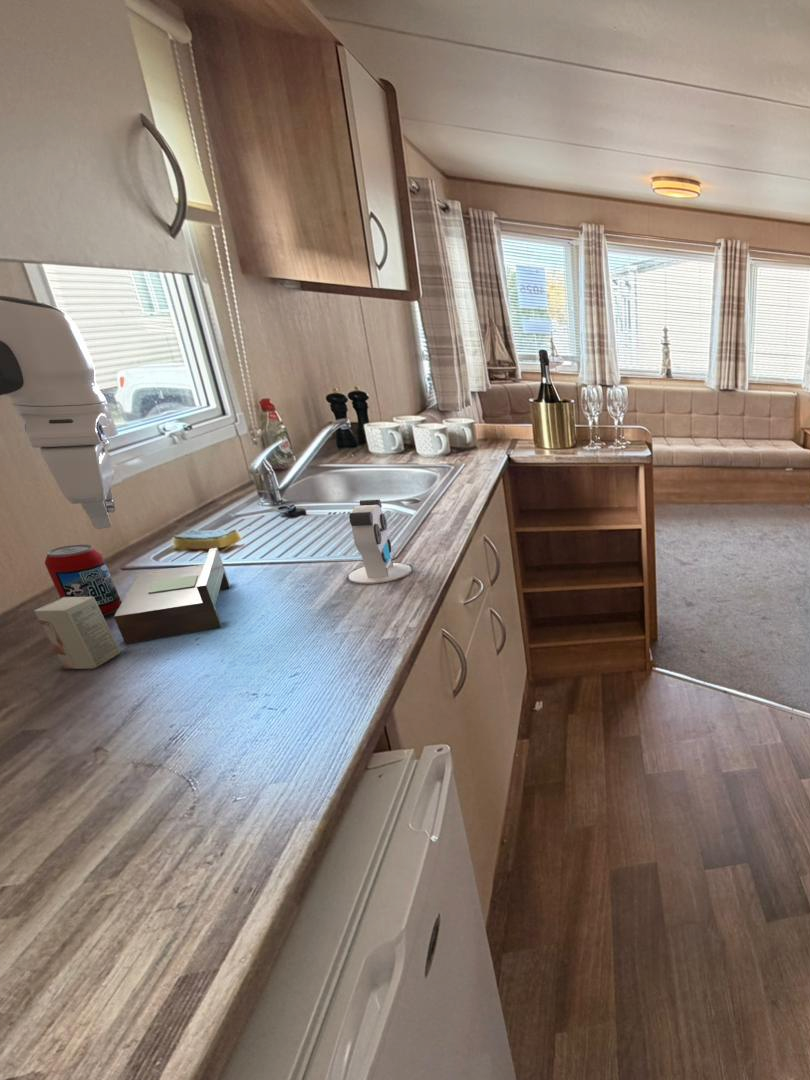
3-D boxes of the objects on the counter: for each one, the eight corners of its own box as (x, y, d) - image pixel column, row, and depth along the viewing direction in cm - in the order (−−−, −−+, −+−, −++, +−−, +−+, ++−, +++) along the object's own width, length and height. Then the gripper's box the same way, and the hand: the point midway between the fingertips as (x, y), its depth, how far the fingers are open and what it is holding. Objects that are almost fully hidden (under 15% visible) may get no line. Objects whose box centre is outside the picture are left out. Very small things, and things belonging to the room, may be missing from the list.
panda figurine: (406, 581, 132) (391, 512, 126) (342, 587, 128) (323, 515, 122) (414, 562, 143) (400, 497, 136) (355, 566, 139) (338, 499, 132)
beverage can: (88, 623, 110) (59, 558, 105) (59, 617, 111) (29, 553, 106) (134, 607, 116) (108, 545, 111) (106, 602, 117) (79, 541, 112)
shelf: (125, 644, 104) (106, 599, 101) (147, 597, 120) (131, 557, 117) (221, 627, 111) (206, 585, 108) (230, 585, 127) (217, 547, 124)
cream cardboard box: (91, 653, 101) (65, 595, 97) (122, 653, 101) (97, 595, 97) (60, 670, 96) (31, 610, 92) (92, 669, 97) (64, 609, 93)
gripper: (46, 415, 94) (82, 506, 99) (23, 436, 80) (67, 540, 86) (107, 413, 98) (138, 501, 103) (95, 433, 84) (132, 533, 90)
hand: (106, 519), depth 94 cm, fingers open, 8 cm apart
